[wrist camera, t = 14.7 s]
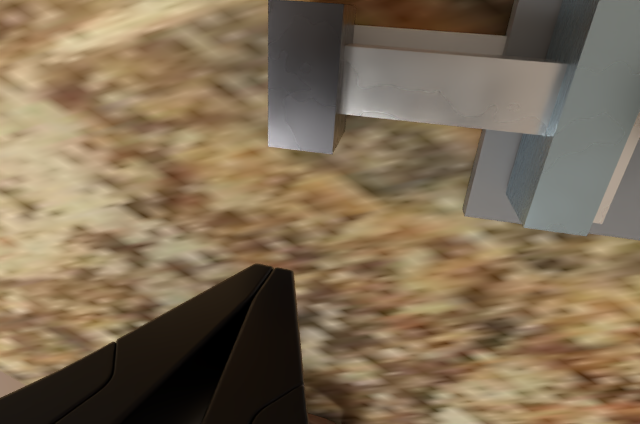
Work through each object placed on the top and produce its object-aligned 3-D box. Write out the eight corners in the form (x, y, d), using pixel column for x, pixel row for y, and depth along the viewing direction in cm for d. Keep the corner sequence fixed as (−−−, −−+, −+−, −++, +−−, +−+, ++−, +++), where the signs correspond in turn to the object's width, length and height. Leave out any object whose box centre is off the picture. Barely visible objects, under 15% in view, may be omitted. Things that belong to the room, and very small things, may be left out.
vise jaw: (659, -42, 13) (732, -58, 10) (568, 201, 17) (601, 240, 14) (296, -58, 15) (268, -75, 12) (290, 166, 19) (268, 194, 16)
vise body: (1152, -76, 12) (1505, -119, 8) (871, 264, 17) (1003, 335, 13) (317, -99, 15) (287, -136, 12) (304, 187, 21) (280, 225, 17)
